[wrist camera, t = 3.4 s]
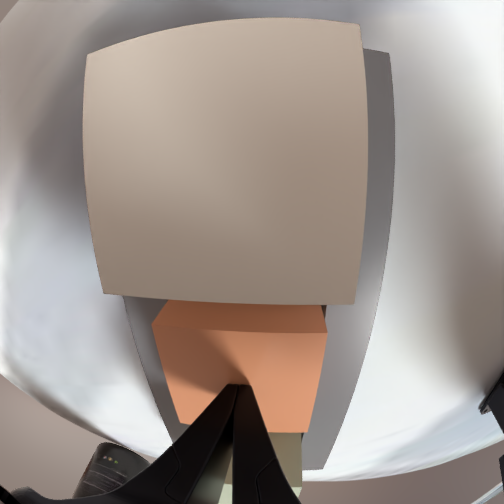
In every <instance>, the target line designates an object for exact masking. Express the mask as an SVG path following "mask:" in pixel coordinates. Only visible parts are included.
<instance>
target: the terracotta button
mask: <svg viewBox="0 0 504 504" xmlns="http://www.w3.org/2000/svg"><path fill="white" fill-rule="evenodd" d="M151 325H152V329H153V333H154V337H155V341H156V345H157V349H158V353H159V357H160V360H161V364H162V367H163V371H164V374H165V378H166V381H167V384H168V388H169V391H170V394H171V397H172V400H173V403H174V406H175V409H176V412H177V415H178V418H179V421H180V423H184V424H190V425H191V424H192V423H193V422H194V421H195V419H196V418H197V417H198V416H199V415H200V414H201V413H202V412H203V411H204V410H205V408H206V407H207V406H208V405H209V404H210V403H211V402H212V401H213V399H214V398H215V397H216V396H217V395H218V394H219V393H220V391H221V390H222V389H223V388H224V387H225V386H226V385H227V384H228V383H231V384H238V385H239V386H240V385H241V384H245V385H251V386H252V388H253V391H254V394H255V397H256V400H257V403H258V406H259V408H260V411H261V414H262V417H263V420H264V423H265V425H266V428H267V431H268V432H279V433H300V432H308V428H309V424H310V420H311V416H312V412H313V407H314V403H315V398H316V394H317V389H318V384H319V379H320V374H321V369H322V364H323V358H324V352H325V347H326V341H327V335H328V332H327V328H326V324H325V319H324V315H323V311H322V307H321V305H278V304H242V303H218V302H200V301H184V300H168V301H167V303H166V304H165V305H164V307H163V308H162V310H161V311H160V313H159V314H158V315H157V317H156V318H155V320H154V321H153V323H152V324H151Z"/></svg>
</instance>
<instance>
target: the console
mask: <svg viewBox="0 0 504 504" xmlns="http://www.w3.org/2000/svg"><path fill="white" fill-rule="evenodd" d="M363 56H364V66H365V77H366V91H367V112H368V174H367V196H366V211H365V223H364V234H363V244H362V253H361V261H360V269H359V276H358V283H357V289H356V296H355V302H354V304H353V305H321V307H322V311H323V315H324V319H325V324H326V328H327V332H328V335H327V341H326V347H325V352H324V358H323V364H322V369H321V374H320V379H319V384H318V389H317V394H316V398H315V403H314V407H313V412H312V416H311V420H310V424H309V428H308V432H301V445H302V470H319V469H323V467H324V465H325V463H326V461H327V459H328V457H329V454H330V452H331V450H332V448H333V445H334V443H335V441H336V438H337V436H338V433H339V431H340V428H341V426H342V423H343V421H344V418H345V415H346V413H347V410H348V407H349V404H350V402H351V399H352V396H353V393H354V390H355V387H356V384H357V381H358V378H359V374H360V371H361V368H362V364H363V361H364V358H365V354H366V350H367V347H368V343H369V339H370V335H371V331H372V327H373V323H374V319H375V314H376V310H377V305H378V300H379V295H380V290H381V285H382V279H383V274H384V268H385V261H386V255H387V248H388V240H389V232H390V223H391V213H392V202H393V187H394V165H395V119H394V98H393V85H392V74H391V65H390V56H389V53H385V52H380V51H375V50H369V49H364V48H363ZM123 298H124V302H125V307H126V311H127V314H128V318H129V322H130V326H131V329H132V333H133V336H134V340H135V343H136V347H137V350H138V353H139V356H140V359H141V362H142V366H143V369H144V371H145V374H146V377H147V380H148V383H149V386H150V388H151V391H152V394H153V396H154V399H155V402H156V404H157V407H158V409H159V412H160V414H161V417H162V419H163V421H164V424H165V426H166V428H167V431H168V433H169V435H170V437H171V439H172V442H173V443H174V442H175V441H176V440H177V439H178V438H179V437H180V436H181V435H182V433H183V432H184V431H185V430H186V429H187V428H188V427H189V426H190V424H184V423H180V421H179V418H178V415H177V412H176V409H175V406H174V403H173V400H172V397H171V394H170V391H169V388H168V384H167V381H166V378H165V374H164V371H163V367H162V364H161V360H160V357H159V353H158V349H157V345H156V341H155V337H154V333H153V329H152V325H151V324H152V323H153V321H154V320H155V318H156V317H157V315H158V314H159V313H160V311H161V310H162V308H163V307H164V305H165V304H166V303H167V301H168V300H169V299H156V298H144V297H133V296H123Z"/></svg>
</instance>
